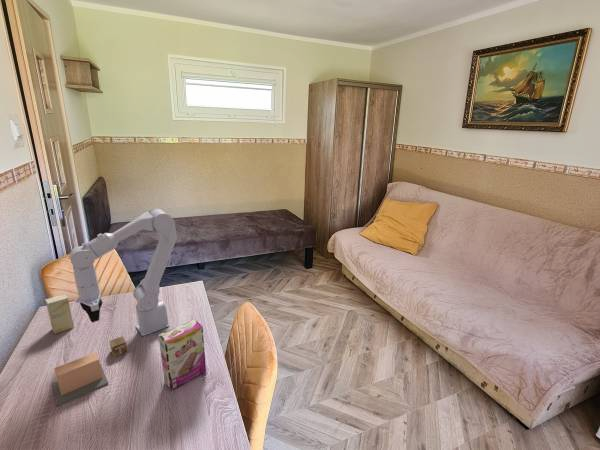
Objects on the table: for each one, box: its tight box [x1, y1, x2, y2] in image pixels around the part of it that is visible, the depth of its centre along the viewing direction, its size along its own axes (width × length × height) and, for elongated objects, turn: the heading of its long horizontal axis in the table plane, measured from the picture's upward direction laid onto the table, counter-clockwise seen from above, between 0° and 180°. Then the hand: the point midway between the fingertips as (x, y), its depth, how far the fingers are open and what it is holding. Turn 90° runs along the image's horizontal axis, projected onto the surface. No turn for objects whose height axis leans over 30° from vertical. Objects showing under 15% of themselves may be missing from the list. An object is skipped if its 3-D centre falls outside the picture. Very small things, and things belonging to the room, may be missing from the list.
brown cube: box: [109, 335, 129, 358], centre depth 106 cm, size 4×4×4 cm
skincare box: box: [45, 293, 75, 335], centre depth 116 cm, size 6×4×12 cm
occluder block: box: [54, 351, 103, 396], centre depth 92 cm, size 10×4×6 cm, turn 131°
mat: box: [52, 363, 109, 407], centre depth 93 cm, size 12×10×1 cm
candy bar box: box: [158, 319, 207, 392], centre depth 94 cm, size 11×5×16 cm, turn 134°
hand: (95, 320), depth 107 cm, fingers closed
